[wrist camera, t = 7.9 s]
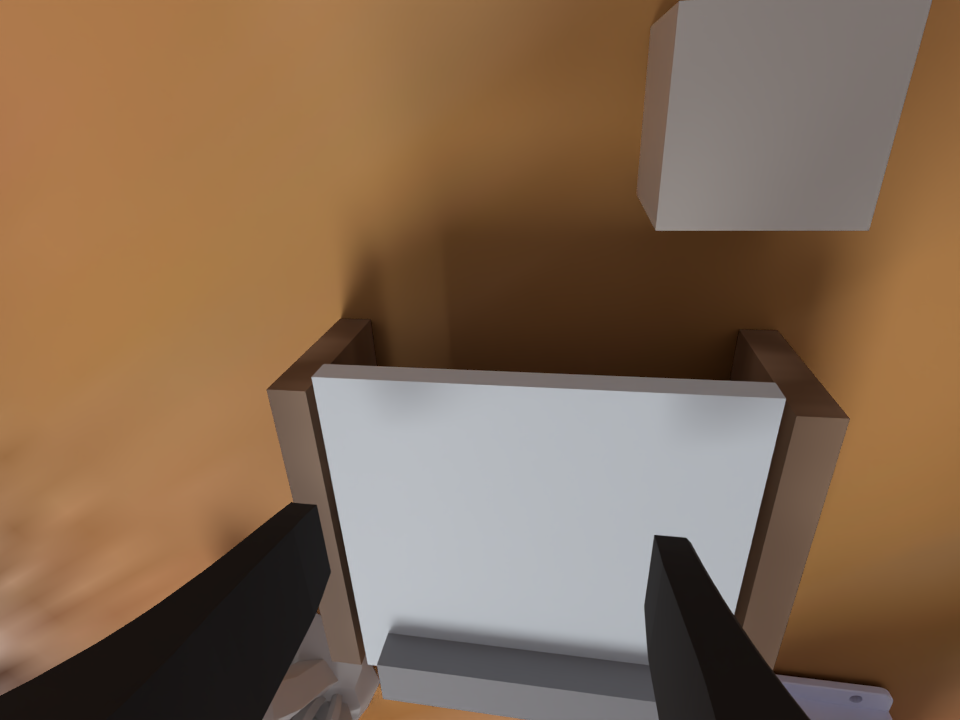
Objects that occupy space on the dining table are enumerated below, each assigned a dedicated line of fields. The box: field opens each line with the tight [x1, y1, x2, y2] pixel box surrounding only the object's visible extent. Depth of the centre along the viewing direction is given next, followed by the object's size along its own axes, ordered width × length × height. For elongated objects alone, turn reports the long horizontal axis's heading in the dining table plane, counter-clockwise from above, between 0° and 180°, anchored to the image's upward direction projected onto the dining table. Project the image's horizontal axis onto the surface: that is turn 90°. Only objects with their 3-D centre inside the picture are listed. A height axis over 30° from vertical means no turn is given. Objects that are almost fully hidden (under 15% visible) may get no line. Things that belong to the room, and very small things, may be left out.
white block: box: [637, 0, 932, 231], centre depth 14 cm, size 4×4×5 cm
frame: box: [267, 319, 850, 670], centre depth 20 cm, size 15×12×6 cm
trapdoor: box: [311, 364, 786, 720], centre depth 16 cm, size 12×12×2 cm
